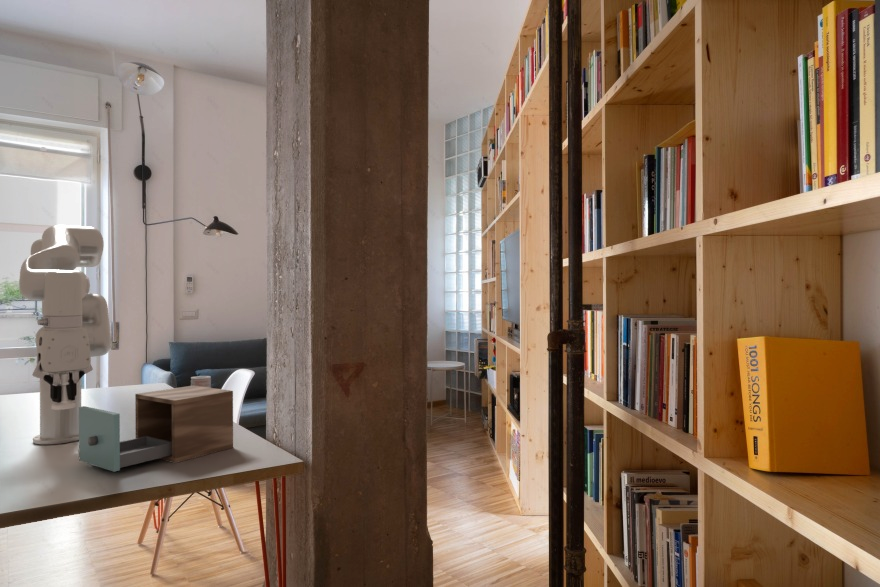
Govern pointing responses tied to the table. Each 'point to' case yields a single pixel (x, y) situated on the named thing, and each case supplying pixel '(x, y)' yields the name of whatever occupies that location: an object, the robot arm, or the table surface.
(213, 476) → the table surface
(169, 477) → the table surface
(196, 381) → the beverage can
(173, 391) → the cabinet
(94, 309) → the robot arm
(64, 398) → the chess piece
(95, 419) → the drawer
